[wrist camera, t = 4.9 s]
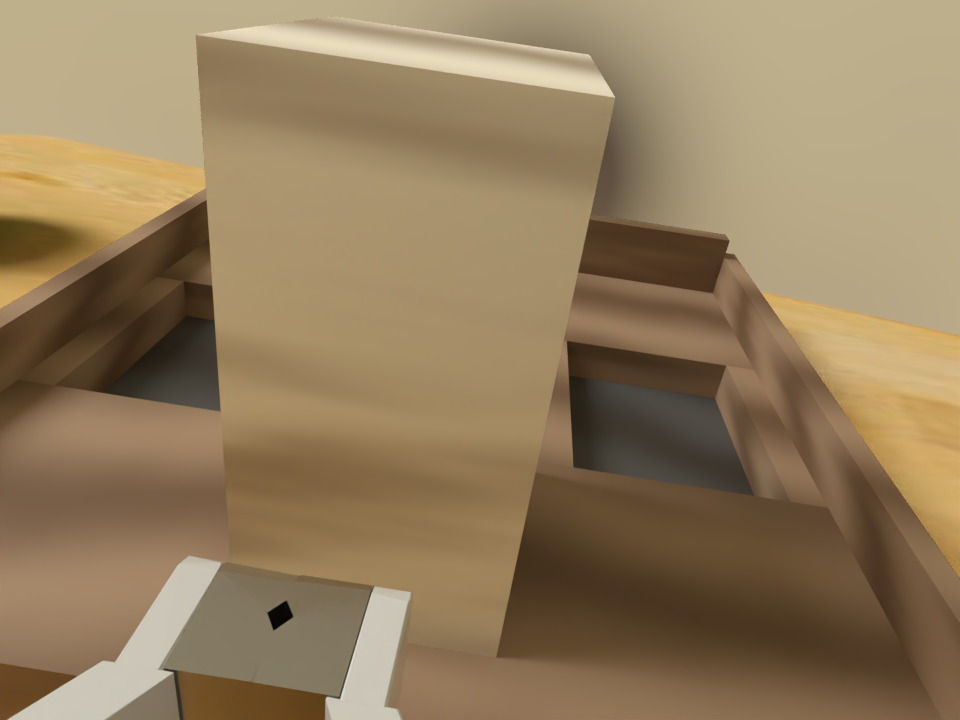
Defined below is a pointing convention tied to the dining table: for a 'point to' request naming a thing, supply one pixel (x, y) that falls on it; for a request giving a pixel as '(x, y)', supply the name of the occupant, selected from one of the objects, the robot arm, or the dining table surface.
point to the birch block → (392, 298)
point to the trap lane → (551, 511)
